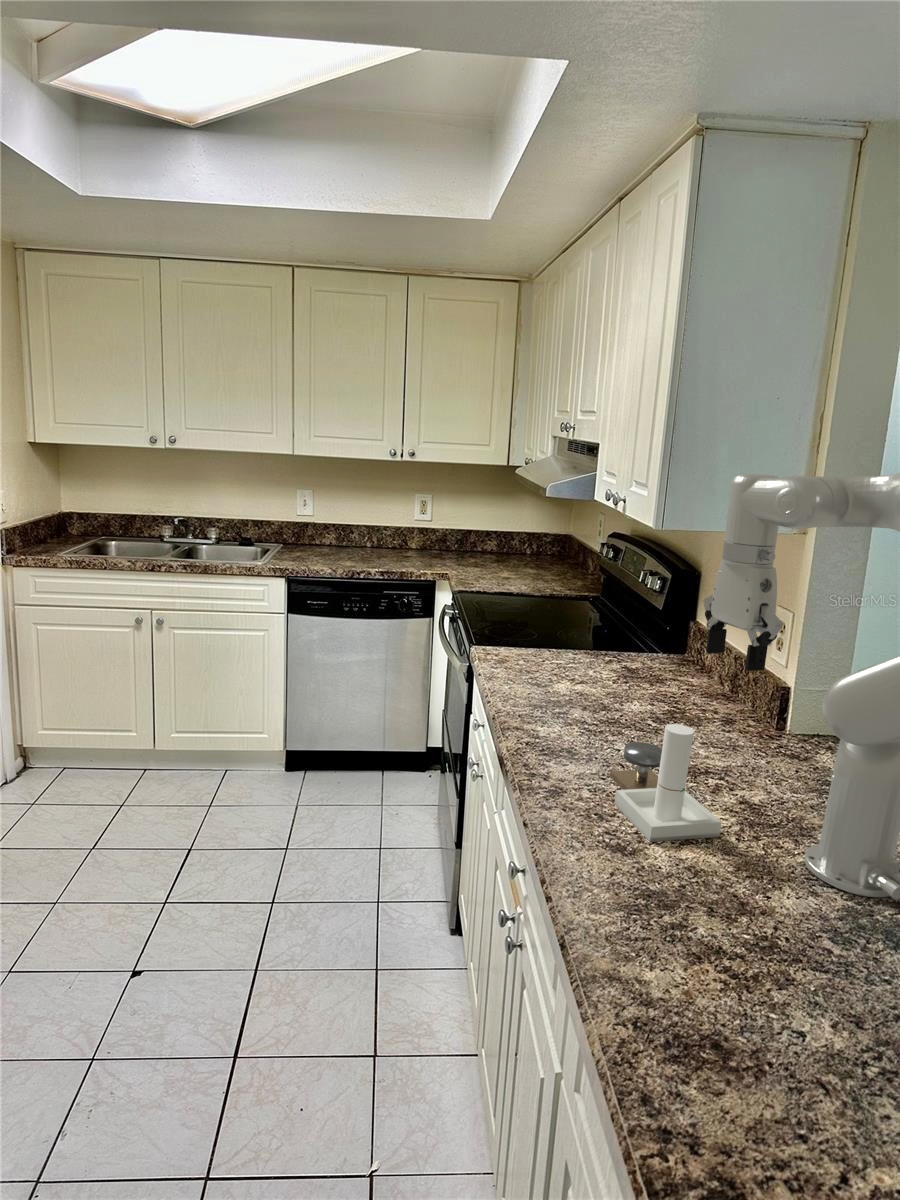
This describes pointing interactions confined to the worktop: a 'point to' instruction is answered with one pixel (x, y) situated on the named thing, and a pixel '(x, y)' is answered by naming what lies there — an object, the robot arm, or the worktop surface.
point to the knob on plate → (639, 766)
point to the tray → (691, 825)
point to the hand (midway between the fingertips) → (733, 661)
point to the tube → (673, 773)
